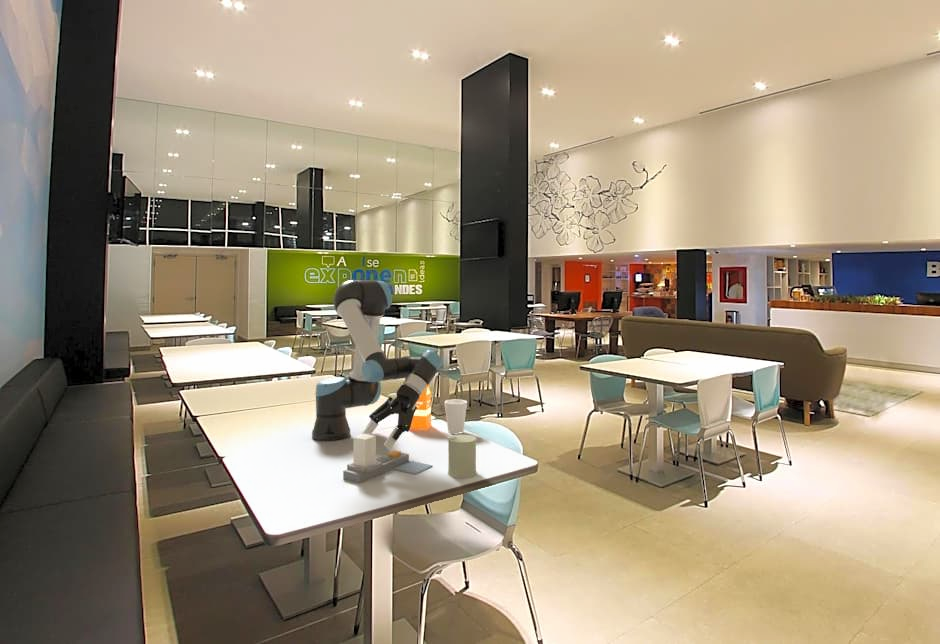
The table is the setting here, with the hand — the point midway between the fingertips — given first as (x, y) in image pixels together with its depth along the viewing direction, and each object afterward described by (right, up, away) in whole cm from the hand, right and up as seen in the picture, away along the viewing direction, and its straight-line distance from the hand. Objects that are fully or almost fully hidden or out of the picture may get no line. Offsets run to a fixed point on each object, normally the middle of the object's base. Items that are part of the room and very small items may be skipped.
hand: (374, 442), depth 163 cm
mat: (+12, -10, +6) cm, 17 cm away
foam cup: (+25, -8, +50) cm, 57 cm away
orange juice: (+8, -7, +58) cm, 59 cm away
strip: (0, -10, +5) cm, 11 cm away
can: (+28, -10, +1) cm, 30 cm away
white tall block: (-3, -8, -1) cm, 8 cm away
